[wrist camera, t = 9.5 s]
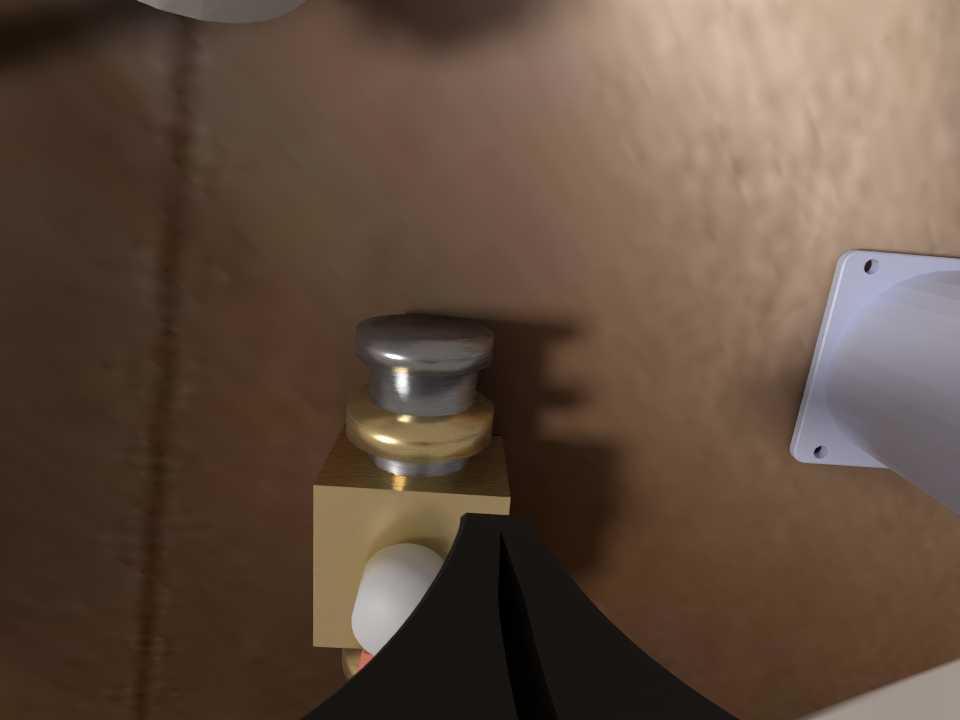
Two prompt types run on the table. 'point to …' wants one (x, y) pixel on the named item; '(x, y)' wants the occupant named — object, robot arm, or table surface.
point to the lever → (391, 593)
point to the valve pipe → (403, 460)
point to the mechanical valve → (227, 9)
